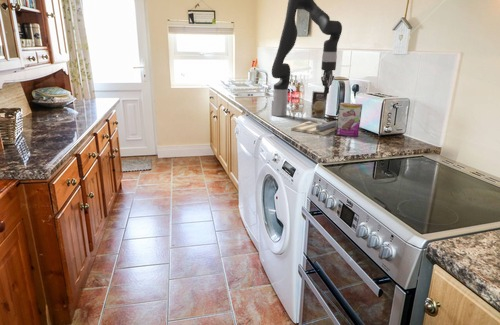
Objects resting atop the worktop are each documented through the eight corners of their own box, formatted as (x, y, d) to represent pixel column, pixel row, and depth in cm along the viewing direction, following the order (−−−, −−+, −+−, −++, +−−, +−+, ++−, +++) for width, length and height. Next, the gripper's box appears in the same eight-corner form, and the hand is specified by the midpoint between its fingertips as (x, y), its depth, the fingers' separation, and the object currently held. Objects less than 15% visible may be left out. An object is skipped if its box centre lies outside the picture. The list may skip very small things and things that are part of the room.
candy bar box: (335, 135, 178) (339, 103, 173) (336, 133, 182) (340, 102, 177) (358, 137, 175) (362, 105, 169) (358, 135, 179) (362, 103, 174)
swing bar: (321, 130, 177) (322, 126, 177) (315, 129, 179) (316, 125, 179) (338, 125, 191) (338, 121, 190) (332, 124, 193) (332, 120, 192)
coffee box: (310, 117, 223) (312, 92, 218) (310, 115, 229) (312, 91, 224) (325, 117, 222) (327, 92, 217) (324, 116, 228) (326, 91, 223)
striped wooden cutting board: (291, 130, 187) (291, 126, 186) (310, 122, 206) (310, 119, 206) (324, 135, 177) (325, 132, 176) (341, 127, 196) (341, 124, 196)
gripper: (327, 60, 190) (324, 92, 196) (317, 60, 180) (315, 94, 185) (340, 60, 186) (337, 93, 192) (331, 61, 176) (328, 95, 181)
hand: (326, 93), depth 188 cm, fingers closed
